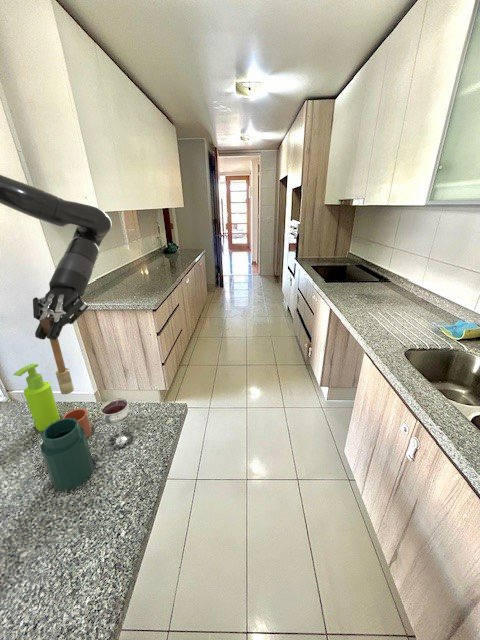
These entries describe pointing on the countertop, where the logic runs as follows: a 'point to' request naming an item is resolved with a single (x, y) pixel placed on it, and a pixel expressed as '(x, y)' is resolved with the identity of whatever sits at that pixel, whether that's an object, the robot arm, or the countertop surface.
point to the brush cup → (80, 419)
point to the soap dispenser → (39, 398)
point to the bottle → (66, 453)
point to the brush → (58, 360)
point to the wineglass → (115, 414)
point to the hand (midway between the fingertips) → (45, 338)
